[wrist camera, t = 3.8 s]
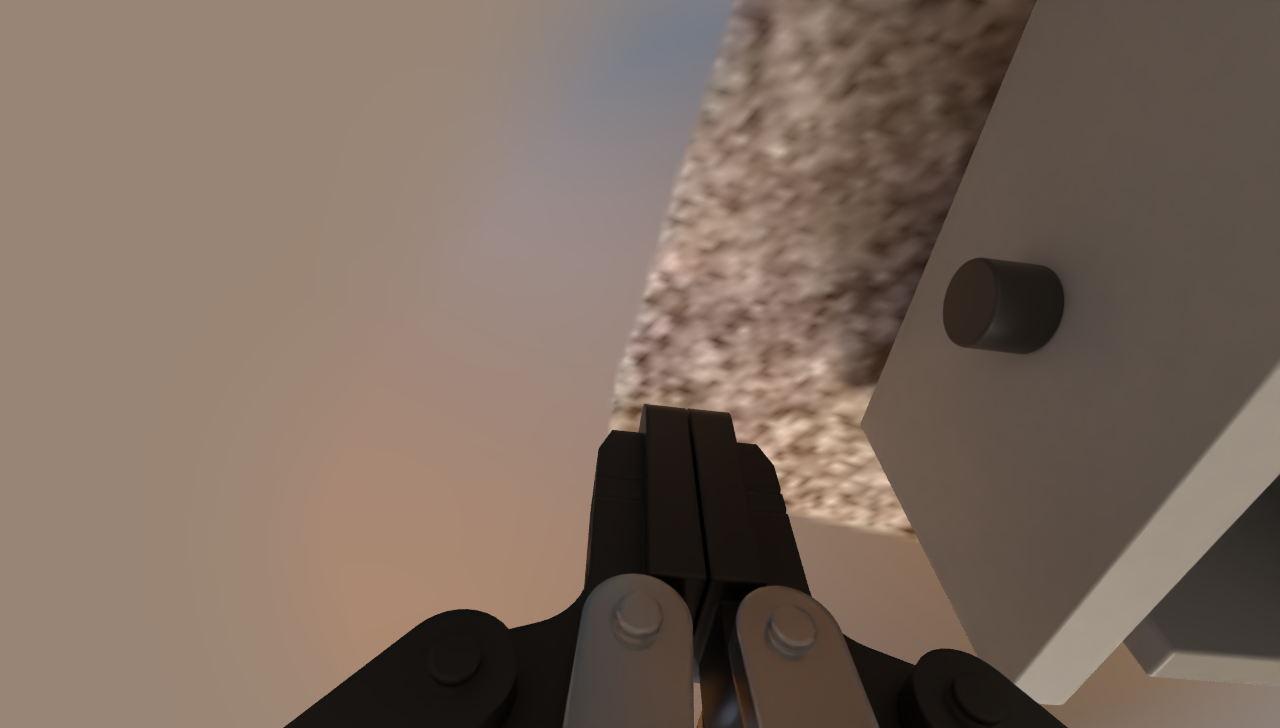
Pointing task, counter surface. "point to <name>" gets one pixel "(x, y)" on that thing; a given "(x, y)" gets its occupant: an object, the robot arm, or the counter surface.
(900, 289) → the counter surface
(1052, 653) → the drawer
